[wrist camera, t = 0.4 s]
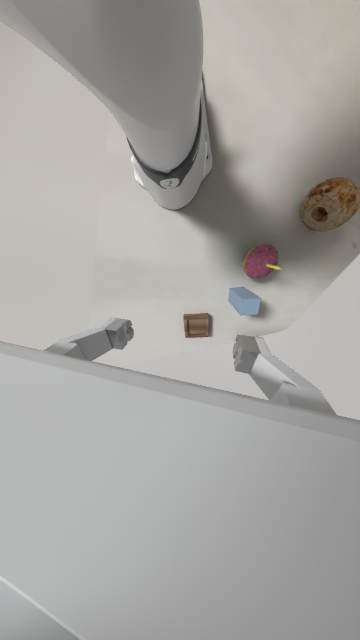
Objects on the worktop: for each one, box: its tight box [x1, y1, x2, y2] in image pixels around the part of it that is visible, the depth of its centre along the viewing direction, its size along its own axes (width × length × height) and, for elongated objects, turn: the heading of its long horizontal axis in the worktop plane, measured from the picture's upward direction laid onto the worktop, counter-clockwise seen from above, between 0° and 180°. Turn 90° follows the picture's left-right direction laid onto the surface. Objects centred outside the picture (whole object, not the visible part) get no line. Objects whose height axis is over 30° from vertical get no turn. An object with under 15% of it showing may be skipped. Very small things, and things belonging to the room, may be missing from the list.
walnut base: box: [184, 313, 209, 338], centre depth 49 cm, size 9×9×2 cm
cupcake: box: [243, 244, 283, 278], centre depth 34 cm, size 9×8×12 cm
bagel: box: [300, 178, 360, 232], centre depth 29 cm, size 10×4×10 cm, turn 46°
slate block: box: [229, 287, 261, 315], centre depth 39 cm, size 4×4×12 cm
